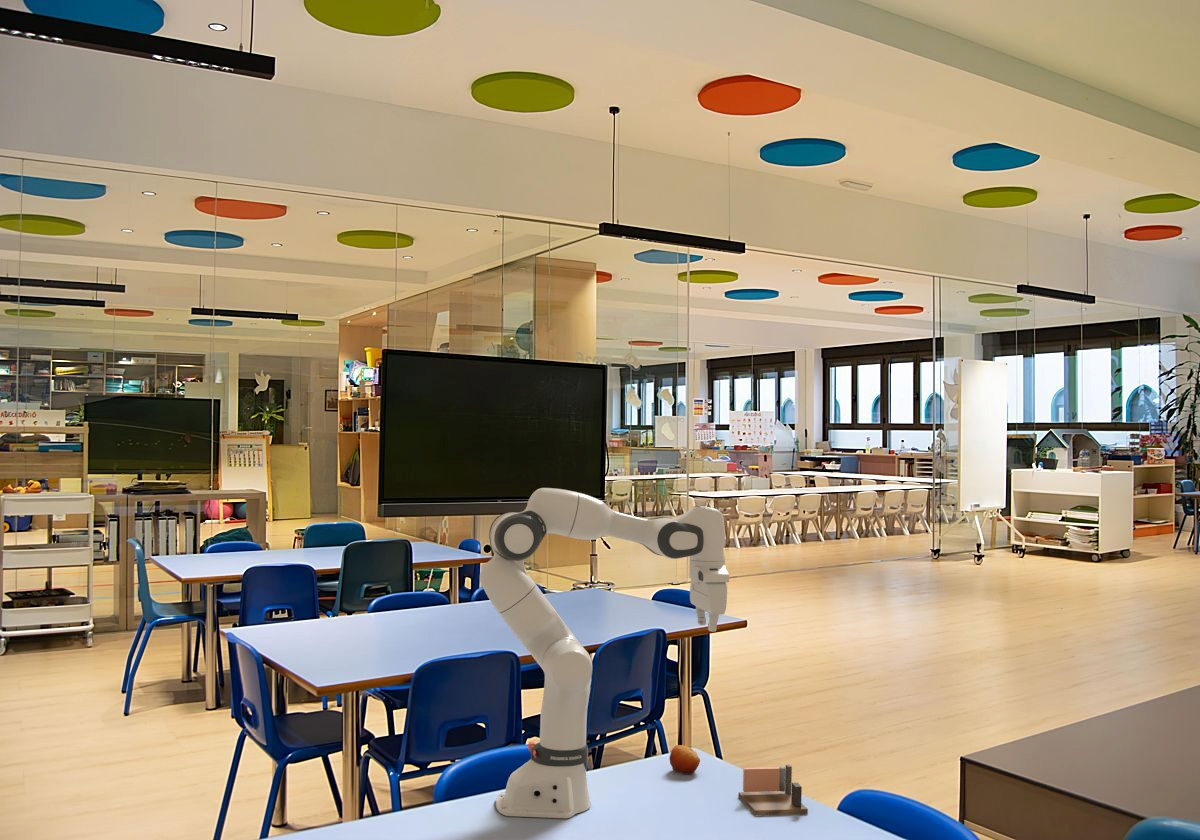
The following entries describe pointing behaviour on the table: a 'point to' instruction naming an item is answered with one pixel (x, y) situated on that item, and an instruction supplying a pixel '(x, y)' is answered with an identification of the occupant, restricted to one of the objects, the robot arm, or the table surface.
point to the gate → (764, 779)
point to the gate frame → (776, 799)
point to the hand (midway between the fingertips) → (706, 627)
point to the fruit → (684, 759)
